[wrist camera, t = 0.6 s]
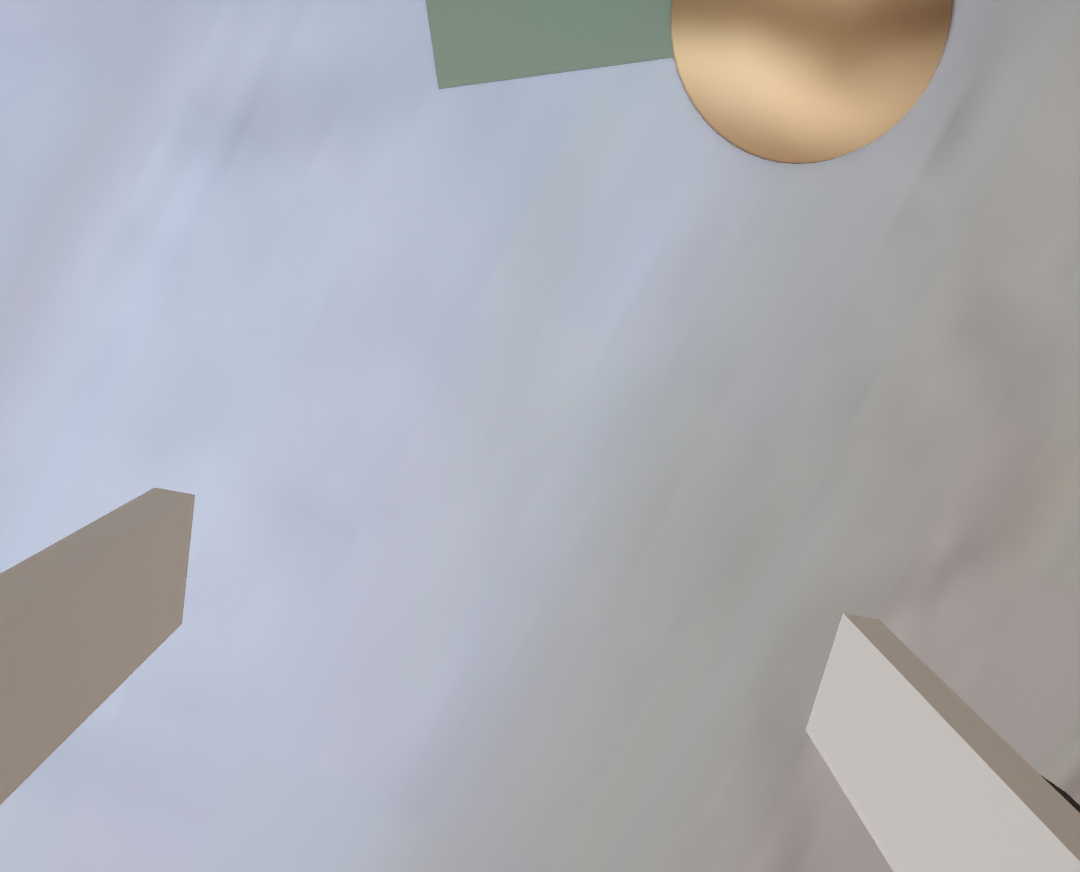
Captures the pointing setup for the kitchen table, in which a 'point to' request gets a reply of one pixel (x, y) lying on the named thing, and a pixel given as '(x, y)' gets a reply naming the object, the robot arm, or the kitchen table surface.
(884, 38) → the coaster
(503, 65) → the tile
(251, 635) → the kitchen table surface
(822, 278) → the kitchen table surface
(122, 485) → the kitchen table surface
